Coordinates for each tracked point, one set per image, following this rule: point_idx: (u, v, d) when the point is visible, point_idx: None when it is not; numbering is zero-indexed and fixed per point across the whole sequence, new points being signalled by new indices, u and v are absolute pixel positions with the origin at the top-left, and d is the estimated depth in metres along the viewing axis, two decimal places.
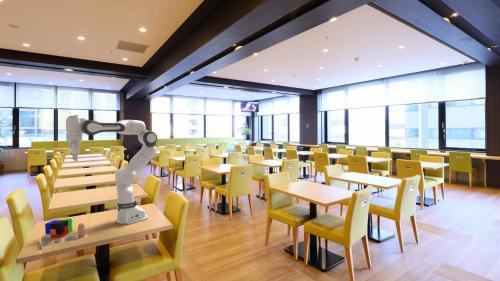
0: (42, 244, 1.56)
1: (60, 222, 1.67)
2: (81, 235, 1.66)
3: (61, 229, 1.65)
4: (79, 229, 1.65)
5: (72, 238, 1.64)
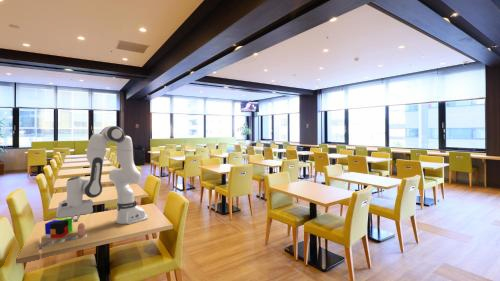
0: (42, 244, 1.56)
1: (60, 222, 1.67)
2: (81, 235, 1.66)
3: (61, 229, 1.65)
4: (79, 229, 1.65)
5: (72, 238, 1.64)
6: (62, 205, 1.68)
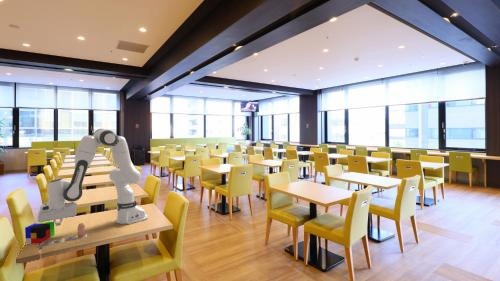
0: (42, 244, 1.56)
1: (41, 225, 1.61)
2: (81, 235, 1.66)
3: (42, 233, 1.59)
4: (79, 229, 1.65)
5: (72, 238, 1.64)
6: (43, 208, 1.62)
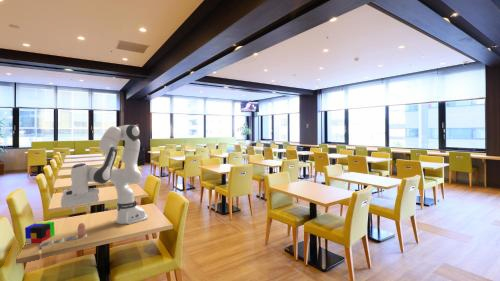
0: (42, 244, 1.56)
1: (41, 226, 1.61)
2: (81, 235, 1.66)
3: (42, 233, 1.59)
4: (79, 229, 1.65)
5: (72, 238, 1.64)
6: (67, 193, 1.59)
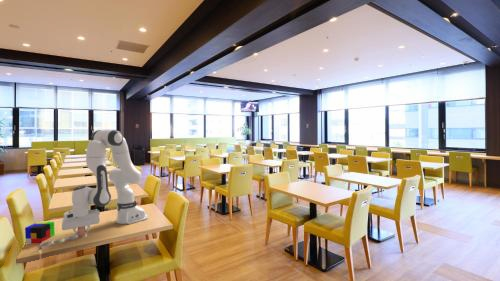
0: (42, 244, 1.56)
1: (41, 226, 1.61)
2: (81, 235, 1.66)
3: (42, 233, 1.59)
4: (79, 229, 1.65)
5: (72, 238, 1.64)
6: (68, 216, 1.60)
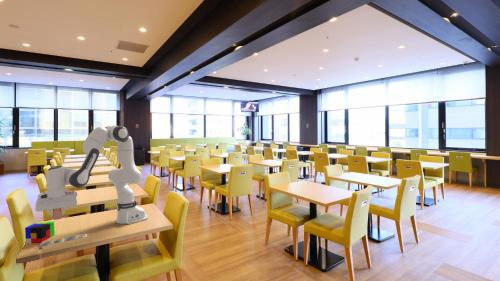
0: (42, 244, 1.56)
1: (41, 226, 1.61)
2: (56, 217, 1.57)
3: (42, 233, 1.59)
4: (54, 211, 1.57)
5: (72, 238, 1.64)
6: (41, 197, 1.52)
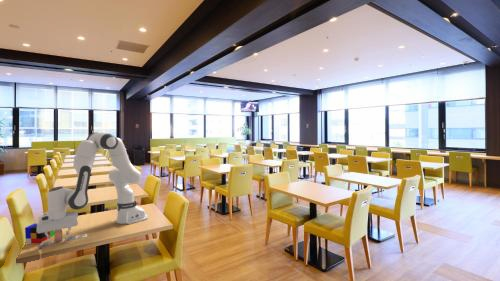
0: (42, 244, 1.56)
1: None
2: (57, 240, 1.58)
3: (42, 233, 1.59)
4: (55, 234, 1.58)
5: (72, 238, 1.64)
6: (42, 219, 1.52)
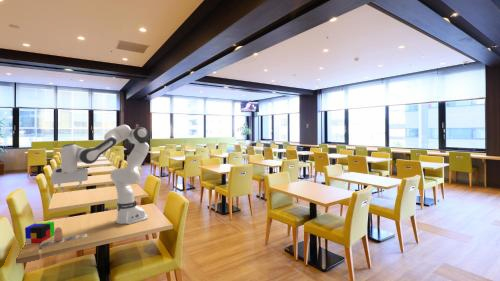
0: (42, 244, 1.56)
1: (41, 226, 1.61)
2: (57, 240, 1.58)
3: (42, 233, 1.59)
4: (55, 234, 1.58)
5: (72, 238, 1.64)
6: (56, 171, 1.68)
